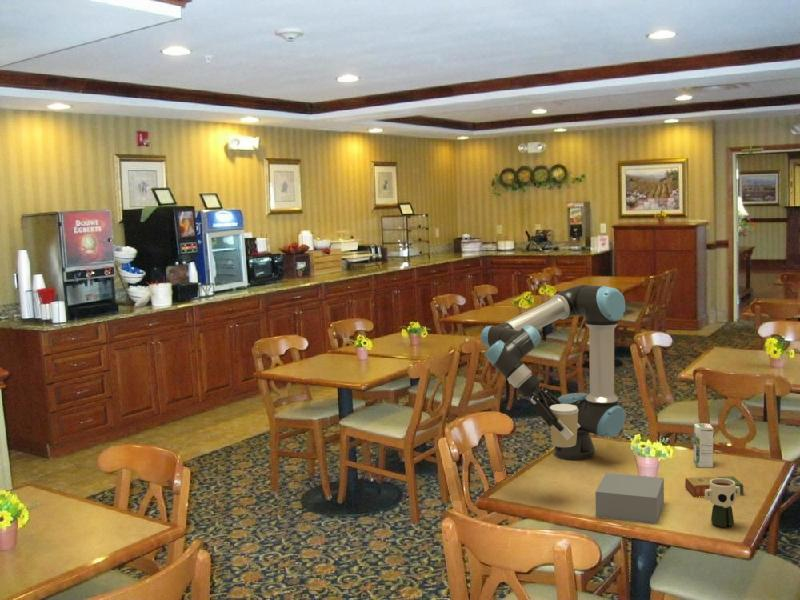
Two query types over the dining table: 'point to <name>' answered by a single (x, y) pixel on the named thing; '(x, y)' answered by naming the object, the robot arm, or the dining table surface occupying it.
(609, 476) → the grey box
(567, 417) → the coffee cup
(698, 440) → the syrup box
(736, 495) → the character mug
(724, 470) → the dining table surface
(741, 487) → the carton
